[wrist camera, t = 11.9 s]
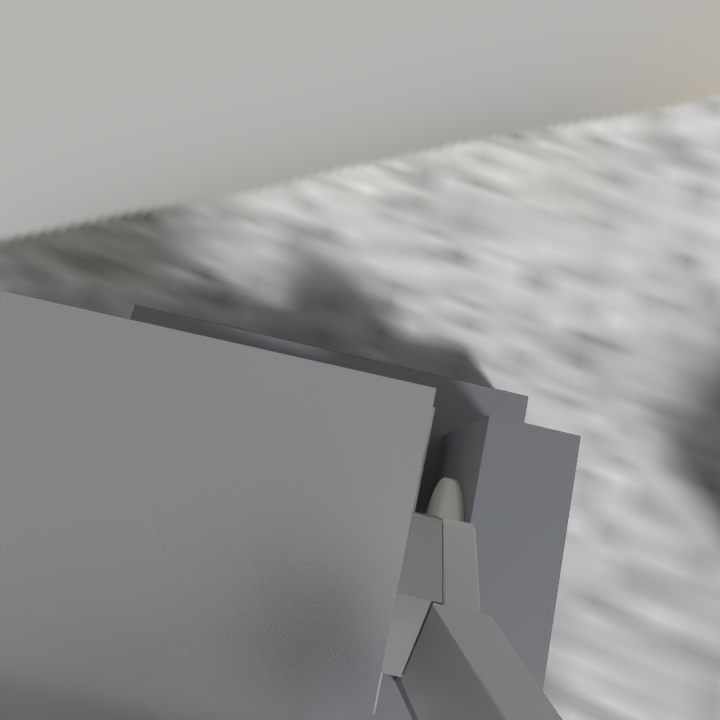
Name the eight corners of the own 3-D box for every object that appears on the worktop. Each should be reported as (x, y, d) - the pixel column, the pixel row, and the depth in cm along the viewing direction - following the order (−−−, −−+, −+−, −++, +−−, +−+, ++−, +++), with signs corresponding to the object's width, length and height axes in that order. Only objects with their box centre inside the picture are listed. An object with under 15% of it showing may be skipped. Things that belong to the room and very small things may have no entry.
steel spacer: (127, 602, 15) (-163, 772, 6) (182, 404, 16) (3, 290, 7) (327, 645, 15) (340, 877, 6) (369, 446, 16) (436, 388, 7)
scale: (53, 653, 23) (-94, 745, 14) (152, 323, 25) (75, 239, 17) (449, 738, 23) (528, 875, 15) (507, 405, 26) (602, 363, 17)
